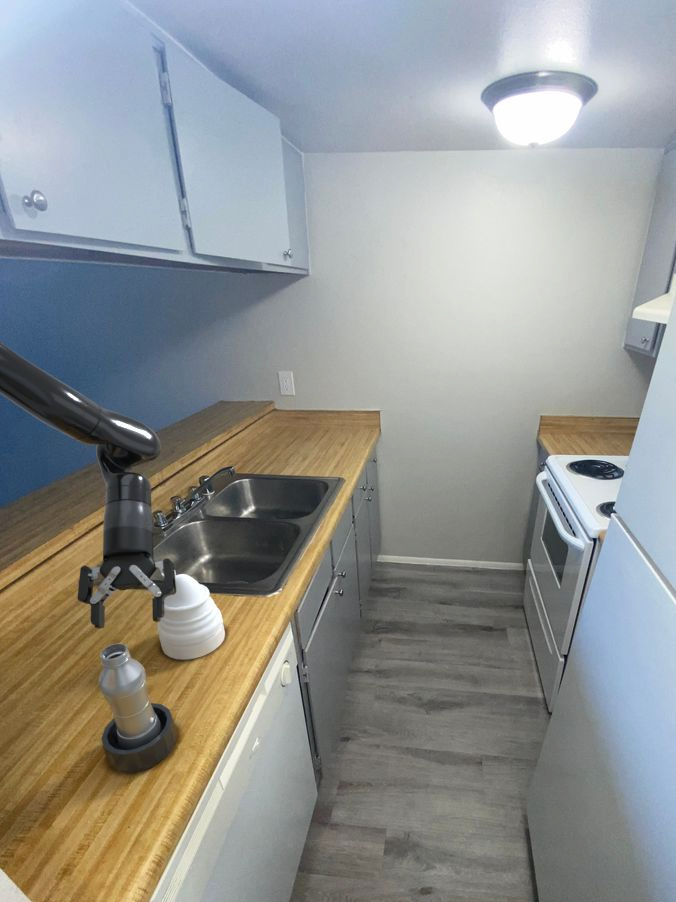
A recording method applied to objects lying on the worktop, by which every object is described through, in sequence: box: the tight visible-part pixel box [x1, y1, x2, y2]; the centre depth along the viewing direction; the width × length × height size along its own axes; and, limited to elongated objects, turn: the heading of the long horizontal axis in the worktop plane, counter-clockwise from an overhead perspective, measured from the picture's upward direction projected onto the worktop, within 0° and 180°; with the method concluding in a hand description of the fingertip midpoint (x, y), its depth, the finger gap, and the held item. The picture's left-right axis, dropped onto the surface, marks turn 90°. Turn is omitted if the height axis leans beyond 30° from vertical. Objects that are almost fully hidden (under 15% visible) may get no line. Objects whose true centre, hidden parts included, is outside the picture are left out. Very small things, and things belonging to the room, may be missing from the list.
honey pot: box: [157, 569, 226, 661], centre depth 100 cm, size 13×13×18 cm
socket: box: [100, 702, 178, 774], centre depth 79 cm, size 10×10×4 cm
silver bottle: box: [98, 643, 162, 750], centre depth 75 cm, size 6×7×20 cm
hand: (128, 624), depth 78 cm, fingers open, 8 cm apart
